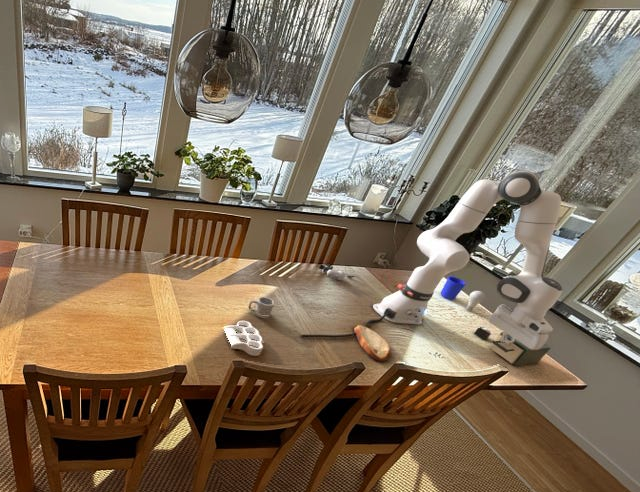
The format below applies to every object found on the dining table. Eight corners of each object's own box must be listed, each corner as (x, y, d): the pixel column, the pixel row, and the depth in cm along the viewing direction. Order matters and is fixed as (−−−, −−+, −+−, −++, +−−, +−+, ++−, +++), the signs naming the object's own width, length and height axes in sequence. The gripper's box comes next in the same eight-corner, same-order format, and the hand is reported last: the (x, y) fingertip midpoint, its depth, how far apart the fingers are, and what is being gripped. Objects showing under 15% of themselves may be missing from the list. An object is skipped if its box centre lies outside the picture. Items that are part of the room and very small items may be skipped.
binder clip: (482, 339, 179) (487, 332, 177) (473, 333, 182) (478, 326, 180) (487, 339, 180) (492, 332, 178) (478, 333, 183) (483, 326, 181)
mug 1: (269, 311, 176) (273, 298, 172) (270, 319, 171) (274, 306, 167) (246, 306, 177) (250, 294, 173) (247, 315, 171) (251, 302, 167)
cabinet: (514, 365, 165) (527, 349, 160) (489, 347, 174) (501, 332, 169) (537, 363, 169) (551, 347, 164) (511, 345, 178) (524, 330, 173)
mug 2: (451, 292, 216) (461, 276, 210) (457, 302, 206) (468, 286, 201) (434, 288, 217) (444, 272, 212) (440, 298, 208) (450, 281, 202)
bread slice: (357, 326, 175) (360, 319, 173) (398, 348, 165) (402, 341, 163) (338, 340, 164) (342, 333, 162) (381, 364, 154) (386, 357, 152)
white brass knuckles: (220, 326, 161) (253, 327, 164) (232, 356, 147) (269, 356, 150) (221, 320, 160) (256, 320, 162) (234, 349, 145) (272, 349, 148)
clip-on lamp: (341, 276, 221) (315, 269, 215) (346, 266, 219) (321, 258, 213) (354, 285, 211) (328, 278, 205) (360, 275, 209) (334, 267, 203)
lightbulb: (477, 314, 198) (490, 296, 192) (464, 312, 199) (477, 293, 192) (471, 308, 203) (484, 290, 197) (459, 305, 204) (471, 287, 198)
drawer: (502, 364, 163) (513, 351, 159) (480, 347, 171) (489, 335, 168) (532, 361, 168) (543, 348, 164) (509, 345, 176) (519, 333, 172)
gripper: (496, 302, 164) (477, 329, 172) (546, 332, 148) (522, 360, 156) (507, 301, 166) (487, 328, 174) (557, 331, 150) (534, 359, 158)
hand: (504, 343), depth 165 cm, fingers closed
